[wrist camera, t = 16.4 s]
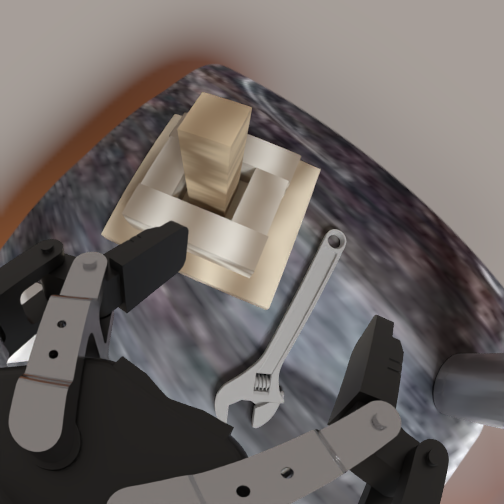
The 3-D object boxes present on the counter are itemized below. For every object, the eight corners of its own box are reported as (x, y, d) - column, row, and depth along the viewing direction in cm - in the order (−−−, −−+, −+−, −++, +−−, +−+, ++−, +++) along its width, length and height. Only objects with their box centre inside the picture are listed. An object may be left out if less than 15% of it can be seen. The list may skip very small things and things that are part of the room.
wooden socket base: (316, 175, 37) (331, 152, 32) (266, 309, 32) (276, 306, 27) (175, 120, 37) (172, 93, 32) (105, 238, 32) (88, 222, 27)
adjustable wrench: (326, 228, 36) (331, 223, 34) (367, 258, 36) (374, 254, 34) (205, 406, 29) (205, 411, 28) (254, 435, 29) (256, 441, 27)
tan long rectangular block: (239, 184, 34) (254, 102, 20) (224, 219, 33) (230, 147, 19) (207, 172, 34) (206, 87, 20) (190, 206, 33) (177, 129, 19)
